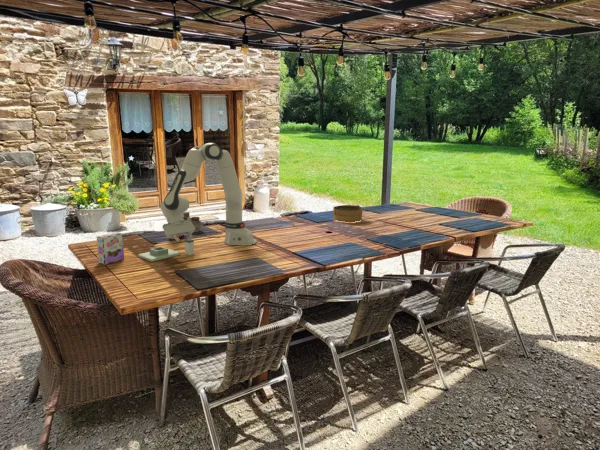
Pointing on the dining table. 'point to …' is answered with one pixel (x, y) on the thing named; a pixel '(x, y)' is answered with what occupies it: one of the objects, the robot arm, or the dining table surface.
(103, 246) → the candy box
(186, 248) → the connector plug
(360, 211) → the steamer basket
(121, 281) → the dining table surface
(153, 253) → the holder plate
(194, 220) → the pottery
